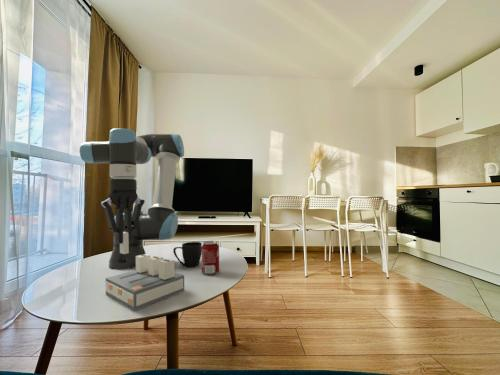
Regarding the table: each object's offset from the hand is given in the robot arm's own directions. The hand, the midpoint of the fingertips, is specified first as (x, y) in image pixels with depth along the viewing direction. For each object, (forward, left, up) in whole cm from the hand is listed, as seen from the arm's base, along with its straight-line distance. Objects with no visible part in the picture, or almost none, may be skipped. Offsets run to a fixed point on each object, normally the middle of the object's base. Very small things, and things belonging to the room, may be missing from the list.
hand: (124, 252), depth 76 cm
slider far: (0, +6, -7) cm, 9 cm away
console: (+5, +4, -13) cm, 14 cm away
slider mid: (+6, +7, -7) cm, 12 cm away
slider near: (+12, +7, -7) cm, 16 cm away
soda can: (+8, +29, -13) cm, 33 cm away
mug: (-6, +29, -13) cm, 32 cm away
